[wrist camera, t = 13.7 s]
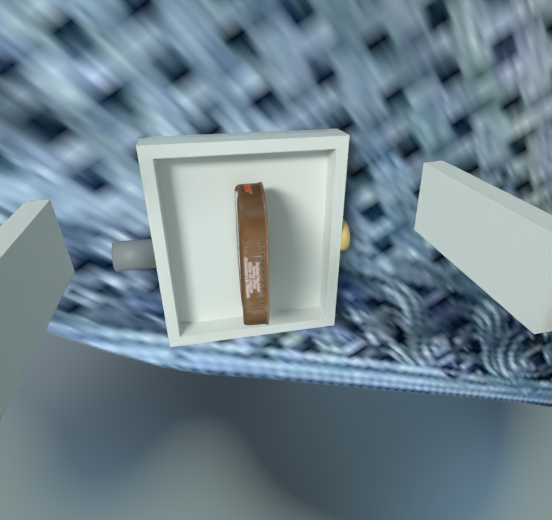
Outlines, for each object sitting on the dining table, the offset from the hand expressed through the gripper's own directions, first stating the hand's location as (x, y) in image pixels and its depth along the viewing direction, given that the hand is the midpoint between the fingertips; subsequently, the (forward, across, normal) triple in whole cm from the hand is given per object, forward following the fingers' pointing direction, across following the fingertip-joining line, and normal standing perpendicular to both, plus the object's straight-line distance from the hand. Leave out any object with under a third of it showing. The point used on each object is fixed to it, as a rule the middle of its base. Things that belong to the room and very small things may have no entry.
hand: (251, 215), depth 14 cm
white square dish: (+27, 0, -14) cm, 30 cm away
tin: (+26, +2, -14) cm, 30 cm away
